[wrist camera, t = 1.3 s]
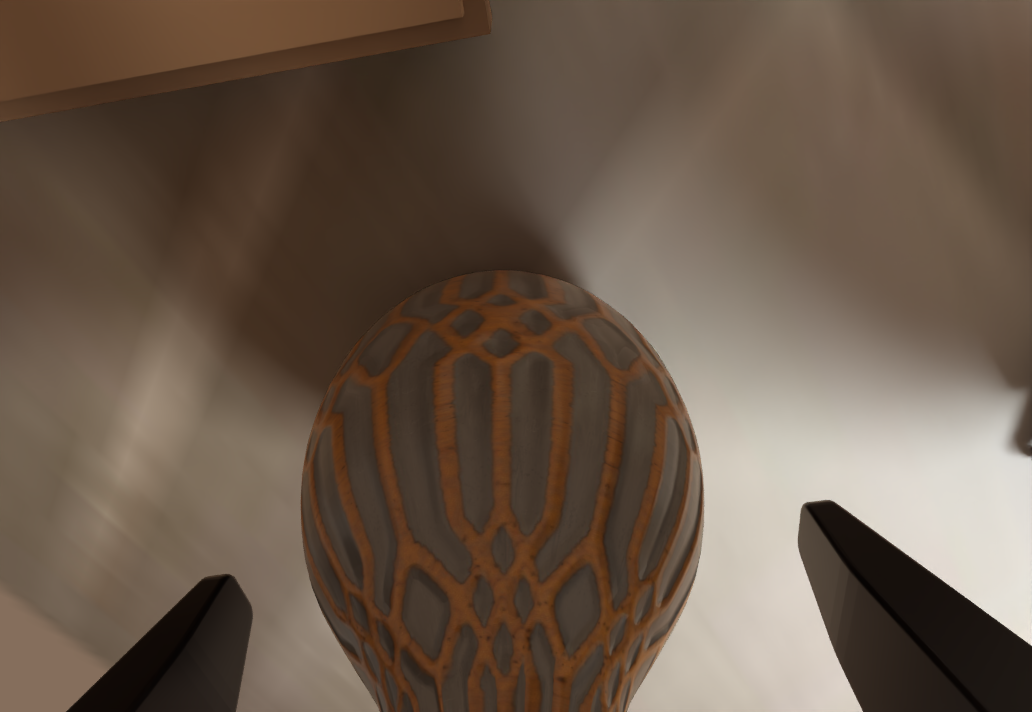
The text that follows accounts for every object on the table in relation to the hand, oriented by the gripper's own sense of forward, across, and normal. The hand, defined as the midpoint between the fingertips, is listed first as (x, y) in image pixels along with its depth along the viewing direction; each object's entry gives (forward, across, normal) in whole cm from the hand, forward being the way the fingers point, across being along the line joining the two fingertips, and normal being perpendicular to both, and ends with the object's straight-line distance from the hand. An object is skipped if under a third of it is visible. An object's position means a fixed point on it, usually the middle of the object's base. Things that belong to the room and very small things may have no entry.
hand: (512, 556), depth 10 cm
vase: (+6, 0, 0) cm, 6 cm away
